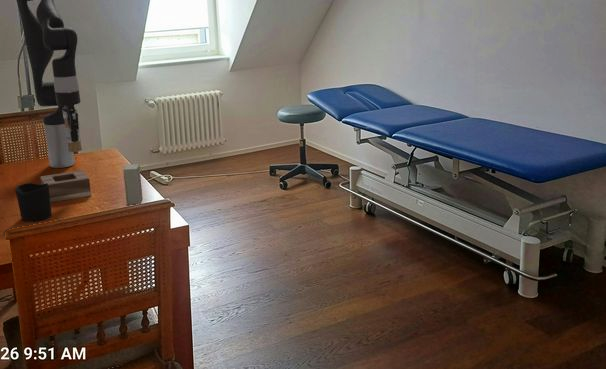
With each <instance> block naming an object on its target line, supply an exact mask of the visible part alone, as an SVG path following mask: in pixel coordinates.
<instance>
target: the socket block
mask: <svg viewBox="0 0 606 369" xmlns="http://www.w3.org/2000/svg"><path fill="white" fill-rule="evenodd" d="M39 178H40V185H42V184H45V183H48V185H49V194H50V203H54V202H55V203H56V202H60V201H66V200H72V199H79V198H85V197H90V196H91V197H92V191H91V184H90V178H89V176H87V174H86V173H85V172H84V170H77V171H76V170H75V171H69V172H62V173H56V174H48V175H42V176H39Z"/></svg>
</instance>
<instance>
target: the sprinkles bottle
mask: <svg viewBox="0 0 606 369" xmlns="http://www.w3.org/2000/svg"><path fill="white" fill-rule="evenodd" d="M63 118H64V121H65V130H66V137H67V143H68V151H69V152H73V153H78V152H81V151H82V150H83V147H82V143H81V135H80V134H81V133H80V128H79V129H78V130H77V132H78V139H79V141H77V142H72V141H71V134H70V130H69V129H70V128H69V125H68V124H67V121H66V116H65V114H64V113H63ZM69 121H70V120H69ZM72 126H75V124H72Z"/></svg>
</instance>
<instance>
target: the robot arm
mask: <svg viewBox="0 0 606 369" xmlns="http://www.w3.org/2000/svg"><path fill="white" fill-rule="evenodd" d="M30 1H31V2H33V0H16V4H17V8H18V12H19V14H20V20H21V25H22V30H23V37H24V41H25V47H26V52H27V55H28V60H29V63H30V67H31V68H30V70H31V74H32V79H33V80H32V81H33V87H34V93H35V94H34V95H35V100H36V102H37V104H38V105H39V106H40V107H58V108H57V109H56V110H55V111H53V112H51V113H47V114H46V115H45V116H43V126H44V133H45V139H46V146H47V153H48V155H47V156H48V161H49V166H50V168H53V169H54V168H55V169H60V168H61V169H63V168H69V167H71V166H74V165H75V157H74V152H69V151H68V143H67V137H66V130H65V121H64V118H63V113H64V114H65V116H66V121H67V124H68V125H69V128H70V129H69V130H70V134H71V141H72V142H77V141H79V139H78V132H77V130H78V129H79V130H80V126H79V113H78V110H77V109H76V108H75V106H76V105H79V104H81V97H80V87H79V81H78V77H77V70H76V53H77V46H78V34H77V32H76V31H75V30H74V28H72V27H70V26H69V27H66V26H65V23H64V21H63V19H62V16H61V14H60V13H59V11H58V9H57V7H56V5H55V2H54V0H40V2H39V4H38V6H37V8H36V11H35V14H34V13H33V11H32V9H30V7H29V4H28V2H30ZM54 51H65V53H64V54H63V55H62V56H58V57H56V58H53V55H54V53H55V52H54ZM52 58H53V59H52ZM51 60H52V61H51ZM50 61H51V66H52V74H53V81H46V82H45V81H44V82H43V78H44V74H45V72H46V69H47V67H48V65H49V64H50ZM69 120H70V121H69ZM72 124H75V126H72Z"/></svg>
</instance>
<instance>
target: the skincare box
mask: <svg viewBox="0 0 606 369" xmlns="http://www.w3.org/2000/svg"><path fill="white" fill-rule="evenodd" d="M140 165H141V164H140V163H126V165H125V166H124V168H123V170H122V172H123V180H124V192H125V201H126V202H125V204H126V206H128V205H129V206H131V205H130V204H136V205H139V204H138V203H140V204H141V203H142V200H143V189H142V187H143V186H142V177H141V168H140Z"/></svg>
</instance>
